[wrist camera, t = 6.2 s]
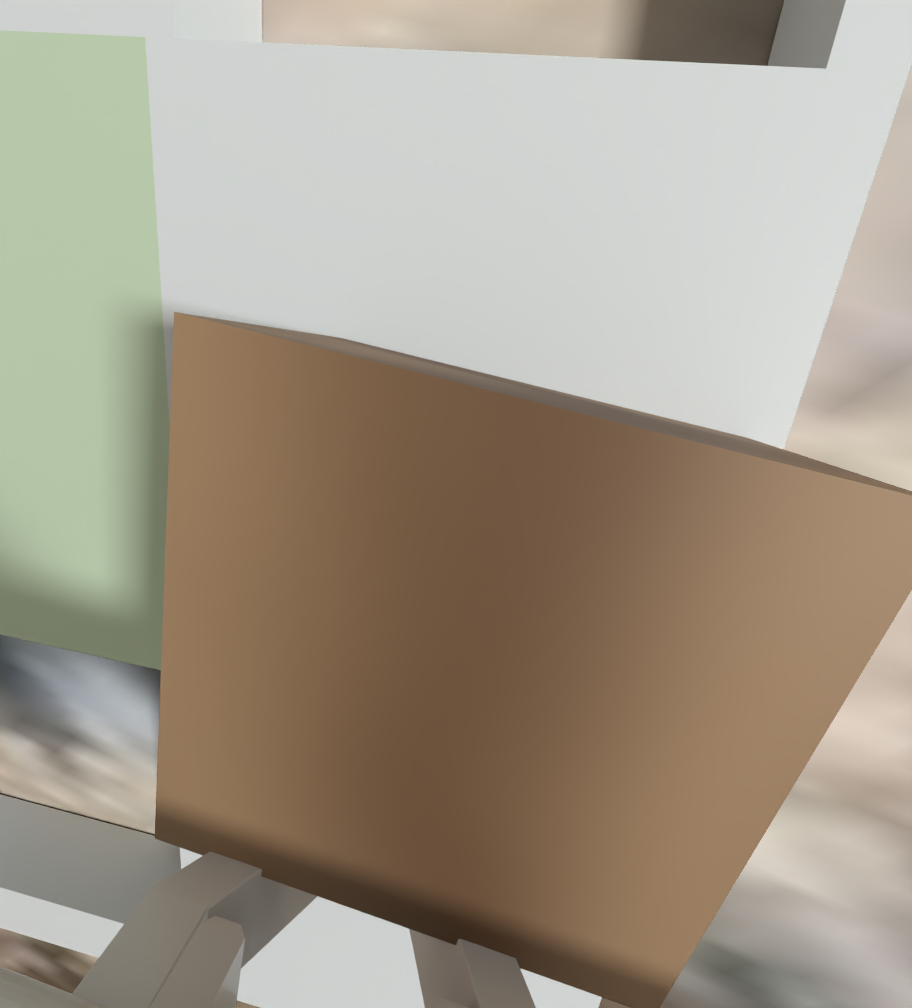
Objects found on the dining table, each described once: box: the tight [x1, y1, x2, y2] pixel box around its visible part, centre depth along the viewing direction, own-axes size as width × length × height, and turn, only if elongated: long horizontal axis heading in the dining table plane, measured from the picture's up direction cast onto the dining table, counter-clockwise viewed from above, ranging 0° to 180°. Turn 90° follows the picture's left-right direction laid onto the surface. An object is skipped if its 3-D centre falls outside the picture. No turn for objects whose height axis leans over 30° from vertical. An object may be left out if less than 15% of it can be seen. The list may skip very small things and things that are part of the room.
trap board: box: [0, 0, 912, 1008], centre depth 10 cm, size 22×34×4 cm, turn 173°
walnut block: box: [155, 312, 912, 1008], centre depth 7 cm, size 7×7×4 cm
